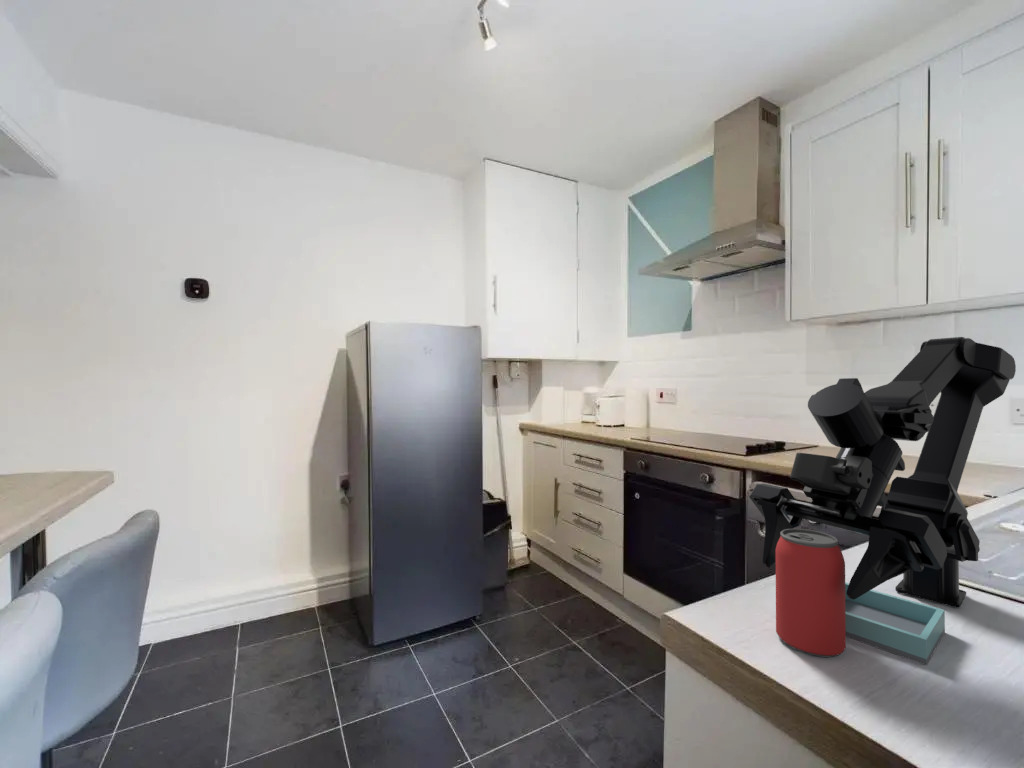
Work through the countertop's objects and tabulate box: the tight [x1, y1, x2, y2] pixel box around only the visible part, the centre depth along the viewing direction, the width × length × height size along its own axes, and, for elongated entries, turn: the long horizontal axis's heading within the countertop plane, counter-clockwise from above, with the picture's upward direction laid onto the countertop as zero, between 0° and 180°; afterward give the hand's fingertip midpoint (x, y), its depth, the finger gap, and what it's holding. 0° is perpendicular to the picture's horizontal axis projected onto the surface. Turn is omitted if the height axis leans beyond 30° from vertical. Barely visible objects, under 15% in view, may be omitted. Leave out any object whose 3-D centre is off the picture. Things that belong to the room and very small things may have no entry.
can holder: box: [845, 581, 946, 666], centre depth 54 cm, size 10×10×3 cm
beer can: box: [775, 528, 847, 658], centre depth 51 cm, size 7×7×12 cm
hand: (804, 579), depth 51 cm, fingers open, 9 cm apart
